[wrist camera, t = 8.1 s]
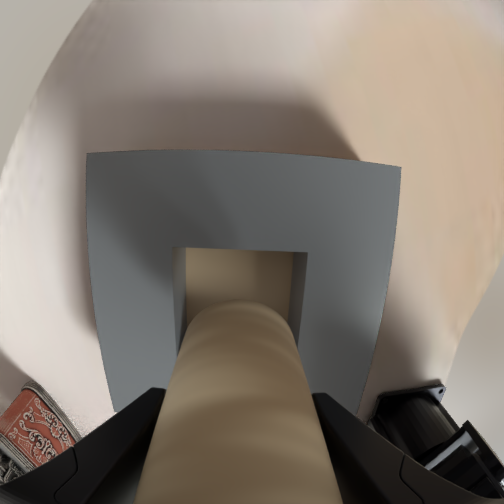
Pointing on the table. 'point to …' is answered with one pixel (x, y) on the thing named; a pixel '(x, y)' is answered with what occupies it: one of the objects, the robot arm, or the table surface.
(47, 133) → the table surface
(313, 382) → the grey square-holed block
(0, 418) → the lighter
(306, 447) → the wooden pin
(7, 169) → the table surface
